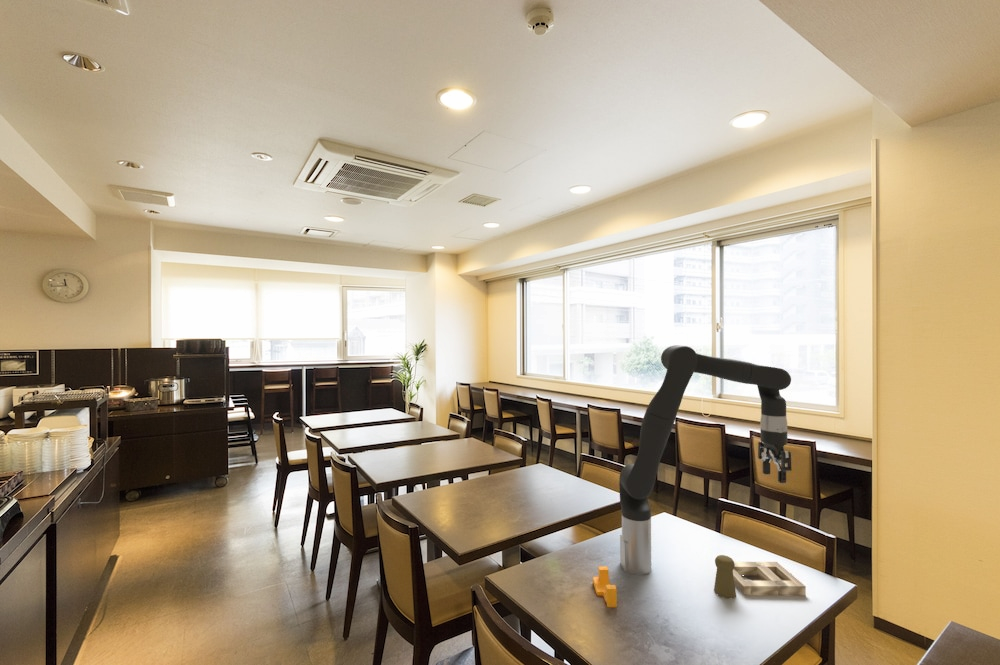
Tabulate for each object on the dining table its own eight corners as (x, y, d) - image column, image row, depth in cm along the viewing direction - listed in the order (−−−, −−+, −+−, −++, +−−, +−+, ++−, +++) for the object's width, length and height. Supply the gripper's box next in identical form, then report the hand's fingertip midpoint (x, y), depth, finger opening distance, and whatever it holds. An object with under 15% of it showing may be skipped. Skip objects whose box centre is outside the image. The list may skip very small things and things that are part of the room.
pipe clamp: (592, 587, 138) (592, 566, 137) (607, 587, 137) (607, 566, 137) (601, 611, 125) (600, 588, 125) (616, 611, 125) (616, 588, 125)
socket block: (743, 596, 132) (743, 586, 132) (720, 571, 146) (720, 561, 146) (805, 596, 132) (805, 586, 132) (776, 571, 146) (776, 561, 146)
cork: (718, 586, 137) (717, 550, 137) (739, 594, 133) (739, 557, 133) (710, 594, 133) (710, 557, 133) (732, 603, 129) (731, 564, 129)
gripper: (750, 424, 154) (750, 471, 154) (775, 433, 140) (775, 485, 140) (772, 424, 154) (772, 471, 154) (799, 433, 140) (799, 485, 140)
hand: (774, 478), depth 147 cm, fingers open, 8 cm apart
